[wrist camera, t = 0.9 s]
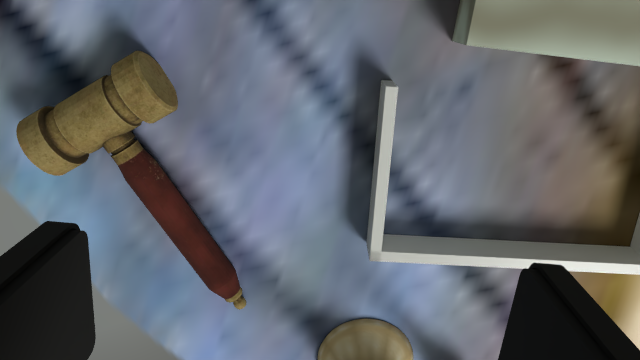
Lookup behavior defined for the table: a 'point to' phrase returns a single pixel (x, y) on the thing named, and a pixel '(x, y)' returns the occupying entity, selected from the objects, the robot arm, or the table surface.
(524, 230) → the table surface
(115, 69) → the gavel
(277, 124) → the table surface
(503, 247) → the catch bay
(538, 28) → the pale green block
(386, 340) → the hand bell
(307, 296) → the table surface
